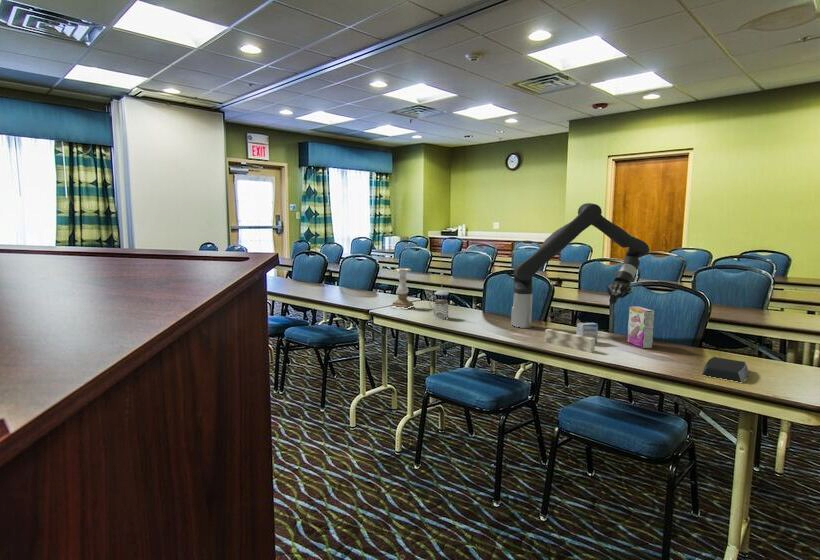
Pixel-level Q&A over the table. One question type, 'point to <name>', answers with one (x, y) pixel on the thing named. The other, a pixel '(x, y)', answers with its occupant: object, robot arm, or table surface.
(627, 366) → the table surface
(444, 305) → the french press
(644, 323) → the candy bar box
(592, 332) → the medicine box
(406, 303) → the candle holder
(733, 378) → the external hard drive
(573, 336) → the birch board
